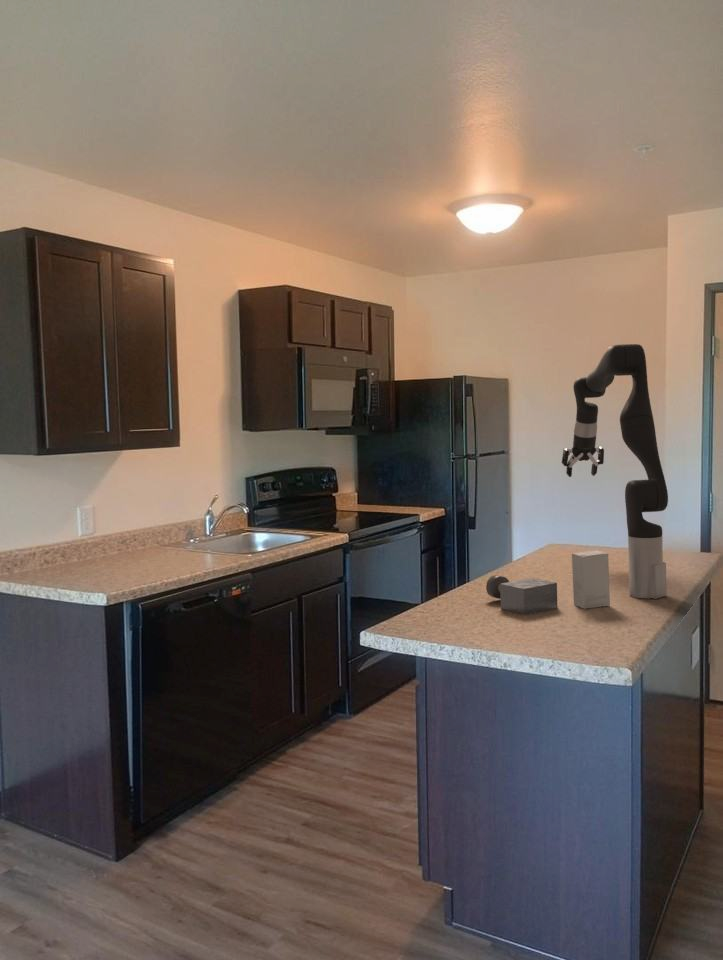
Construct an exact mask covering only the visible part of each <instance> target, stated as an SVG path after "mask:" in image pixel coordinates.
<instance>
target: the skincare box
mask: <svg viewBox="0 0 723 960" xmlns="http://www.w3.org/2000/svg"><path fill="white" fill-rule="evenodd" d="M609 564H610V563H609V553H608V552H604V551H601V550H598V549H595V550H589V551H581V552H573V553H571V565H572V566H571V567H572V592H573V605H574V606H576V607H578V606H579V608H581V609H583V608H584V609H583V610H587V608H588V609H594V608H601V607H602V606H603V607H607V606H611V599H610V597H611V596H610V567H609Z"/></svg>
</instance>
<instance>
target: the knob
mask: <svg viewBox="0 0 723 960" xmlns="http://www.w3.org/2000/svg"><path fill="white" fill-rule="evenodd" d="M507 582H510V581H509V579H508V578H507V577H505V576H502V575H496V574H495V575H492V576H490V577H489V578H488V580H487V582H486V585H485V588H486V592H487V594H488V596H489V597H491V598H495V599H499V600H501V598H500V584H501V583H507Z"/></svg>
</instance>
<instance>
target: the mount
mask: <svg viewBox="0 0 723 960" xmlns="http://www.w3.org/2000/svg"><path fill="white" fill-rule="evenodd" d="M500 598H501V599H500V609H501V610H504V609H505V611H508V610H509V611H508V612H511V611H512V613H515V612H516V613H515V614H519V613H520V615H523V614H524V615H523V616H526V615H525V614H527V615H531V614H530V613H532V614H535V612H536V613H540V612H539V611H541V612H545V610H546V611H550V610H555V609H558V607H559V605H558V583H557V582H555V581H549V580H544V579H540V578H535V577H530V578H524V579H518V580H513V581H509V582H507V583H501V584H500ZM554 608H555V609H554ZM549 609H550V610H549Z"/></svg>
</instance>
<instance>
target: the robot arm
mask: <svg viewBox="0 0 723 960" xmlns="http://www.w3.org/2000/svg"><path fill="white" fill-rule="evenodd" d="M647 368H648V367H647V360H646V353H645V350H644V348H643V346H642V345H641V344H638V343H637V344H636V343H627V344H625V343H624V344H613V345H610V346H609V347H608V348H607V349H606V350H605V351H604V353H603V355H602V357H601V358H600V360H599V362H598V365H597V366H596V368H594V369H593V370H592V371H591V372H589V374H588V375H587V376H582V377H578V378H576V379H575V381H574V383H573V388H572V389H573V392H574V393H573V394H574V397H575V403H576V416H575V417H576V418H575V424H574V429H573V441H572V442H573V443H572V448H570V449H569V448H567V447H565V448H563V451H562V457H561V458H562V459H561V464H562V465H563V467H566V475H567V476H568V477H569V478H572V475H573V473H572V472H573V466H574V464H577V462H578V461H580V462H583V461H586V462H587V461H589V460H590V461H591V462H592V464H591V471H590V473H591V475H592V476H593V477H594V476H596V474H597V473H598V466H600V465H603V464H604V461H605V460H604V459H605V458H604V457H605V448H603V446H601V445H600V446H598V447H596V444H597V443H596V442H597V435H598V434H597V433H598V417H599V416H598V415H599V407H598V405H597V404H596V403H592V402H588V401H586V399H589V398H590V399H592V398H593V399H594V398H595V399H596V398H601V397H603V396H604V395H605V393H606V391H607V388H609V386H610V385H612V384H613V381H614V380H615V376H618V377H619V376H620V377H621V376H622V377H623V376H631V378H632V386H631V387H632V389H631V391H630V394H629V396H628V398H627V400H626V401H625V404H624V405H623V408H622V409H621V412H620V415H619V424H620V431H621V438H622V440H623V442H624V444H625V445H626V446H627V448H628V449H629V450H630V451H631V452H632V453H633V455H634V456H635V457H636V458H637V459H638V461H639V462H640V463H641V464H642V466H643V468H644V470H645V473H646V476H647V479H633V480H629V481H628V482H627V484H626V485H625V490H624V499H625V501H624V502H625V513H626V525H627V545H628V549H627V551H628V552H627V553H628V585H629V587H628V590H629V592H628V593H629V596H630V597H632V598H636V599H637V598H638V599H650V598H653V599H654V600H655V599H656V600H657V598H658V599H660V598H663V597H666V596H667V563H666V562H665V561H664V551H663V541H664V540H663V528H662V526H661V525H659V524H657V523H655V522H653V523H652V522H650V521H648V520H646V519H645V518H644V516H643V513H654V512H657V513H658V512H662V511H664V510H666V509H667V507H668V503H669V494H668V489H667V484H666V479H665V474H664V472H663V467H662V463H661V460H660V455H659V448H658V443H657V435H656V433H657V432H656V428H655V427H656V426H655V420H654V415H653V414H654V413H653V410H652V405H651V398H650V393H649V382H648V373H647V371H648V370H647ZM596 453H597V460H596V459H595V457H594V455H595V454H596ZM571 454H572V455H571ZM570 455H571V456H570ZM569 456H570V458H569Z"/></svg>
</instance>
